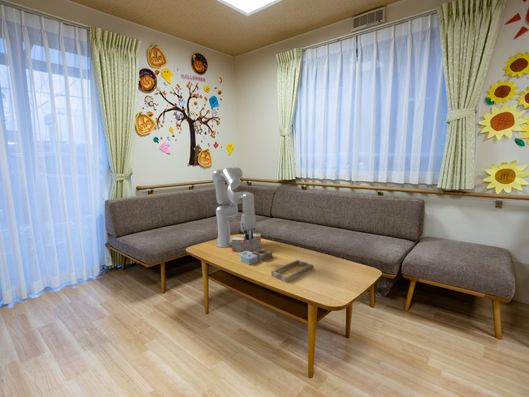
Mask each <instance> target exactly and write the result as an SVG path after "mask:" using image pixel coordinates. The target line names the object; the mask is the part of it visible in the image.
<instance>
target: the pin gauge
mask: <svg viewBox="0 0 529 397" xmlns="http://www.w3.org/2000/svg"><path fill="white" fill-rule="evenodd" d="M248 234H249V240H247V244H252V235H251V229H249V230H248Z"/></svg>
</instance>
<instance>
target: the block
mask: <svg viewBox="0 0 529 397" xmlns="http://www.w3.org/2000/svg"><path fill="white" fill-rule="evenodd" d="M240 262H242V263H243V264H246V265H248V266H250V265H252V264H255V263H258V262H259V260H258V256H257V255H254V254H252V253H248V254H245V255H242V256H241V257H240Z"/></svg>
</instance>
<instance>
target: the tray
mask: <svg viewBox="0 0 529 397" xmlns="http://www.w3.org/2000/svg"><path fill="white" fill-rule="evenodd" d="M248 253H252V251H240V252H239V253H238V254H237V255H238V257H240V258H241V256H242V255H245V254H248Z"/></svg>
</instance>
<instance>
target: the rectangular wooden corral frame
mask: <svg viewBox="0 0 529 397" xmlns="http://www.w3.org/2000/svg"><path fill="white" fill-rule="evenodd" d="M296 266H301V267H303V268H302V269H300V270H298V271H295V272H293V273H292V274H290V275H288V276H286V275H283V274H282V273H283V272H286V271H288V270H290V269H292V268H294V267H296ZM312 269H313V270H314V264H311V263H310V262H309V263H308V262H306V261H303V260H299V259H296V260H294V261H292V262H290V263H287V264H285V265H282V266H281V267H279V268H275V269H274V270H271V275H270V276H271V277H273V278H276V279H277V280H280V281H281V282H284V283H289V282H291V281H294V280H295V279H297V278H299V277H302V276H303V275H305V274H307V273H309V272H310V270H311V271H312ZM308 271H309V272H308ZM306 272H307V273H306Z"/></svg>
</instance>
